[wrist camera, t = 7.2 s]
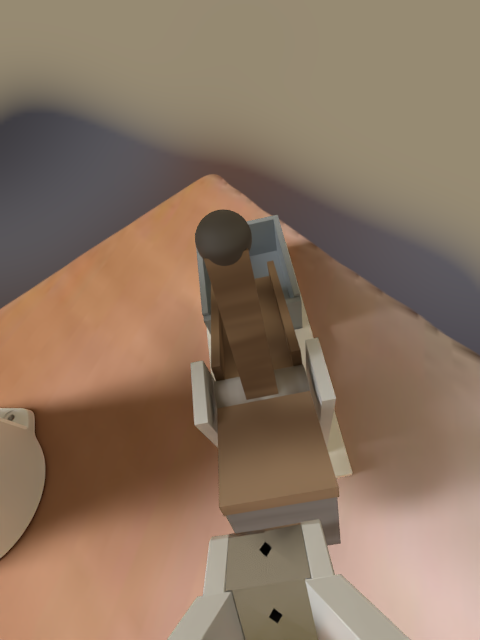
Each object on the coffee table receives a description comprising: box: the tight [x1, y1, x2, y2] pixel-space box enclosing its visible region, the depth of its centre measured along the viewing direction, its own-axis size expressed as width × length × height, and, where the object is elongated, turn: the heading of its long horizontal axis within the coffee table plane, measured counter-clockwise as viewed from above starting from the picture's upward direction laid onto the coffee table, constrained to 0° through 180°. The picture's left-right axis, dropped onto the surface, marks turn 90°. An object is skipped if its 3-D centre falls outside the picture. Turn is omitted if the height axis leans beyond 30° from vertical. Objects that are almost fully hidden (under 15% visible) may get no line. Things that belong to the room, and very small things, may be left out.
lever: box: [195, 210, 340, 545], centre depth 23 cm, size 20×6×19 cm, turn 9°
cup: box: [195, 215, 302, 334], centre depth 41 cm, size 13×10×6 cm
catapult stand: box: [191, 242, 353, 478], centre depth 34 cm, size 30×12×17 cm, turn 8°
